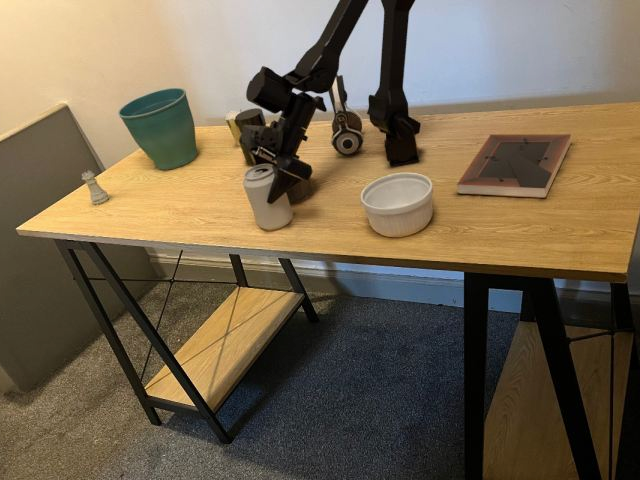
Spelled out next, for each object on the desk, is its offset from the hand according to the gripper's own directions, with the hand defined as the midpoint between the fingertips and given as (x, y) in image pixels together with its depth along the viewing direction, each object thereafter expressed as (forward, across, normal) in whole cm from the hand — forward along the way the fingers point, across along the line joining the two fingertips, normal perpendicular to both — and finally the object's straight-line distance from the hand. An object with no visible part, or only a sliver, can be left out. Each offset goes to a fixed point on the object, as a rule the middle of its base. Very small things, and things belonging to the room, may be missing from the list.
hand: (260, 197), depth 115 cm
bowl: (-2, -9, +11) cm, 15 cm away
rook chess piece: (+23, -52, -13) cm, 58 cm away
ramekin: (-8, +22, +18) cm, 29 cm away
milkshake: (-5, -48, +15) cm, 51 cm away
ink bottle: (-5, -33, +14) cm, 36 cm away
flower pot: (+7, -57, +3) cm, 57 cm away
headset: (-17, -17, +26) cm, 36 cm away
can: (+4, 0, +6) cm, 7 cm away
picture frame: (-27, +24, +36) cm, 51 cm away
